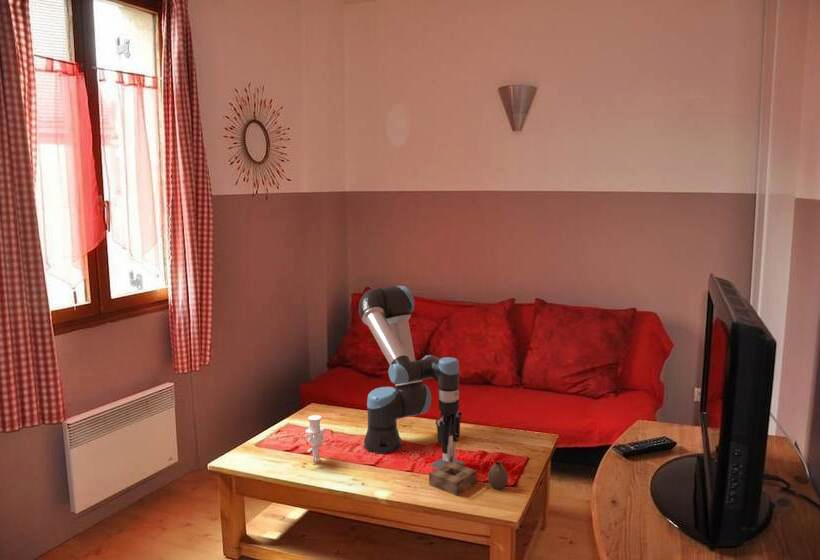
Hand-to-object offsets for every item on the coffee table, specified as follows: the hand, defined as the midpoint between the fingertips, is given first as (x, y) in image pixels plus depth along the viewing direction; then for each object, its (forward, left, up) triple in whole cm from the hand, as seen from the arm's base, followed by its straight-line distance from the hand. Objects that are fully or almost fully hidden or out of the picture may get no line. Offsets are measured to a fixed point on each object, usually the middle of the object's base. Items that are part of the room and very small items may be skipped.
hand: (448, 458), depth 245 cm
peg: (0, 0, -3) cm, 3 cm away
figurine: (-42, -29, -3) cm, 51 cm away
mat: (-1, +1, -3) cm, 3 cm away
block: (+10, -11, -3) cm, 15 cm away
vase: (+23, -2, -3) cm, 23 cm away
